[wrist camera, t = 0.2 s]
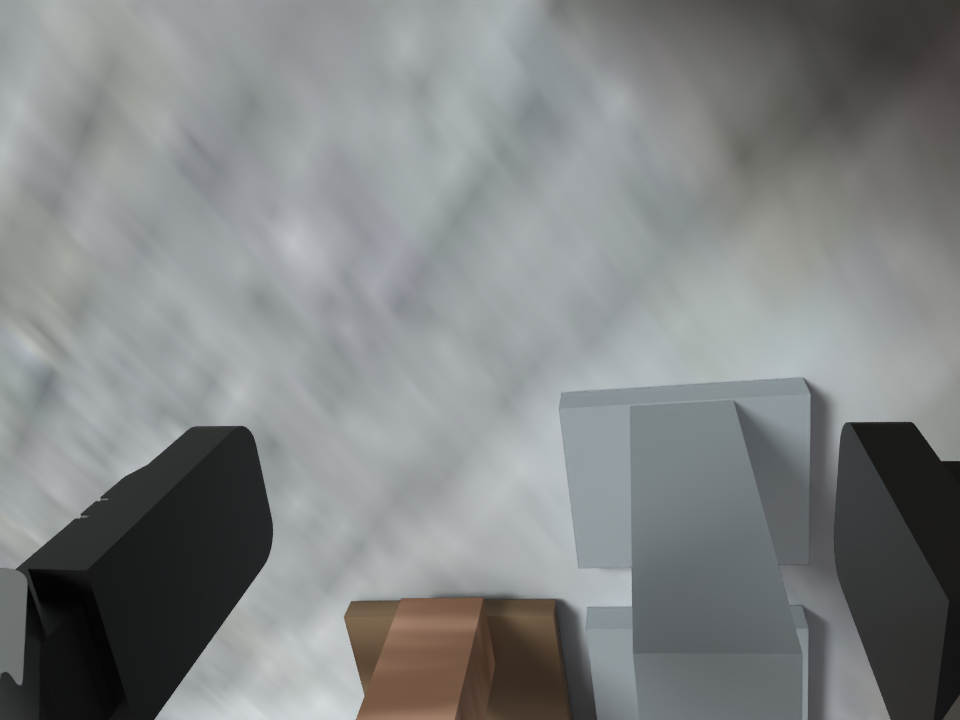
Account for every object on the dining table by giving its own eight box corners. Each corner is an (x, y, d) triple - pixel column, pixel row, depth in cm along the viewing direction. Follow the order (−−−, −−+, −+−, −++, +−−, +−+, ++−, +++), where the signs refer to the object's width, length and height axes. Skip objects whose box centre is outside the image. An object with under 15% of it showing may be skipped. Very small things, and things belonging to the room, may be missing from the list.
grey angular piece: (561, 393, 30) (519, 651, 18) (802, 377, 28) (933, 652, 16) (604, 747, 37) (593, 1105, 25) (801, 753, 35) (892, 1141, 23)
